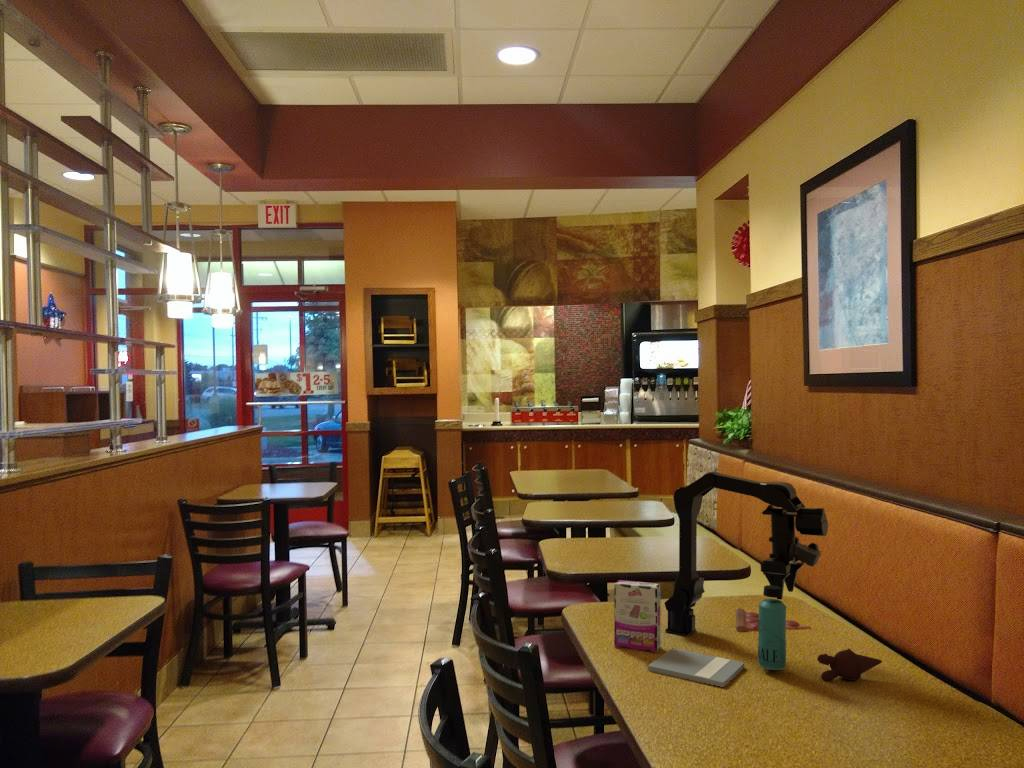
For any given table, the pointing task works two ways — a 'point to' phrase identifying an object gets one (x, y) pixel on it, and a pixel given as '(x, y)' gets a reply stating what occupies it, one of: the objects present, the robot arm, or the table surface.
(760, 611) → the beverage bottle
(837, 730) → the table surface
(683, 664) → the grey flat rectangular block
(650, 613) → the candy bar box
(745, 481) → the robot arm
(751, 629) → the pizza slice
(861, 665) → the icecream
